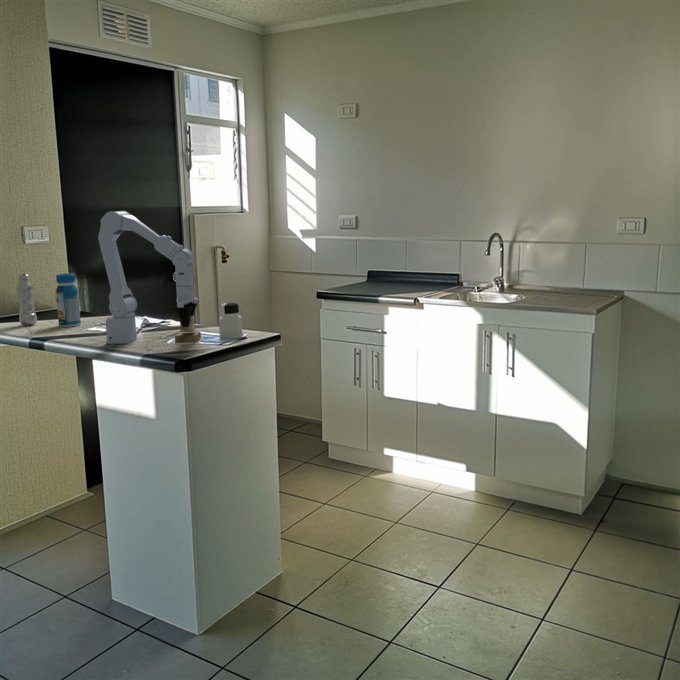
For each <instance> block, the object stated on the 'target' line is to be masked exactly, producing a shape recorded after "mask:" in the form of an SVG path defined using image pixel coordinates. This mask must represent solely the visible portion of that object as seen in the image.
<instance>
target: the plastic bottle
mask: <svg viewBox="0 0 680 680" xmlns="http://www.w3.org/2000/svg"><path fill="white" fill-rule="evenodd" d="M29 279H30V277H29V273H22V274H18V280H19V281H18V283H17V284H16V287H15V291H16V295H17V298H18V302H19V303H18V304H19V315H18V316H19V318H18V320H19V323H20V325H21V326H26V327H27V326H28V327H29V326H32V325H35V324H37V322H38V316H37V313H36V309H35V304H34V303H35V302H34V292H35V291H34V290H35V289H34V286H33V284H32V282H31V281H30V280H29Z"/></svg>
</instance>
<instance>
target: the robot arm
mask: <svg viewBox="0 0 680 680" xmlns="http://www.w3.org/2000/svg"><path fill="white" fill-rule="evenodd" d="M125 231H130V232H133V233H136V234H137V235H138V236H141V238H144V239H145V240H147V241H149V242H150V243H152V244H153V247H154V250H156V251H157V252H159V254H161V255H162V256H164V257H166V258H167V259H169V260H170V261H171V262H172V264H173V266H174V267H175V287H176V305H175V306H174V310H175V311H176V313H177V315H178V317H179V322H180V321H181V324H182V327H189V323H190V315H194V316H195V311H196V309H197V305H198V303H197V301H199V298H198V297H195V287H194V285H195V284H194V272H193V263H194V261H195V254H194V253H193V252H192V251H191V249H190V248H186V247H185V248H184V246H183V245H182V244H179V243H177V242H176V241H174V240H173V239H172V238H173V237H172V236H170V235H165V234H164V235H159V234H158V233H157V232H155V231H154V230H152V228H151V227H149V226H147V225H146V224H145V223H143V222H142V221H140V220H139V219H138V218H137V217H136V216H134V215H132V214H130V213H129V212H127V211H126V210H119V211H112V210H111V211H108V212H106V213H105V214H104V215H103V216H102V217H101V219H100V228H99V232H98V237H97V238H98V239H97V240H98V244H99V247H100V253H101V255H102V260H103V262H104V266H105V271H106V275H107V279H108V282H109V287H110V292H109V295H108V300H109V304H108V309H109V312H110V314H111V315H112V316H108V317H107V318H106V319H105V331H106V344H107V345H108V344H109V345H110V344H112V345H113V344H114V345H115V344H118V345H119V344H124V345H125V344H129V343H130V344H131V343H136V342H137V341H139V340H140V339H141V337H138V336H137V325H136V314H135V311H136V309H137V308H138V302H137V299H136V297H134V295H133V293H132V292H133V291H132V290H131V289H130V288H129V286H128V284H127V281H126V276H125V272H124V268H123V264H122V260H121V257H120V253H119V248H118V245H117V244H118V243H117V240H118V238H119V237H120V236H121V234H122V233H124V232H125Z"/></svg>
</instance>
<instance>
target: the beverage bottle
mask: <svg viewBox="0 0 680 680" xmlns="http://www.w3.org/2000/svg"><path fill="white" fill-rule="evenodd" d="M55 278H56V283H57V284H58V285H57V287H56V289H55V294H56V297H55V302H56V308H57V309H56V311H57V316H58V317H57V319H58V320H57V321H58V326H59V327H62V328H68V327H69V328H71V327H77V326H80V325H81V324H82V321H81V311H80V296H79V294H78V293H79V290H78V287H77V286H76V285H75V282H76V276H75V274H74V273H58V274H56V276H55Z"/></svg>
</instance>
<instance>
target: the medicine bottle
mask: <svg viewBox="0 0 680 680" xmlns="http://www.w3.org/2000/svg"><path fill="white" fill-rule="evenodd" d="M239 307H240V306H239V304H238V303H236V302H225V303H222V304H221V305H220V311H221V312H220V315H221V316H220V318H219V319H218V328H219V329H218V331H219V338H224V339H226V338H229V339H230V338H241V337H242V335H243V321H242V319H243V318H242V315H240V308H239Z"/></svg>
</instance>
